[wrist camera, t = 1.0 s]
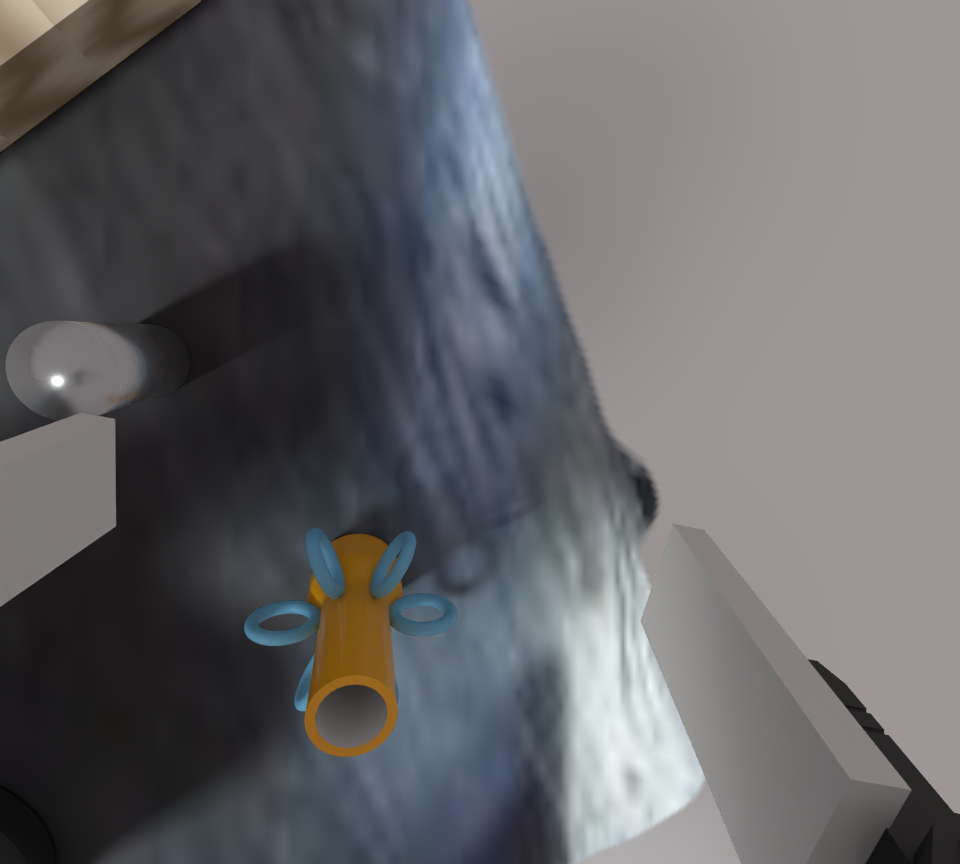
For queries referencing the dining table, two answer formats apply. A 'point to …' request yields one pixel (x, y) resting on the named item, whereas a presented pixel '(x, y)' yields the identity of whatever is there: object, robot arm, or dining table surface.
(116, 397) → the grey metal peg
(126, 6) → the jig
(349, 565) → the orange post with rings
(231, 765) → the dining table surface
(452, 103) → the dining table surface
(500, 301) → the dining table surface
